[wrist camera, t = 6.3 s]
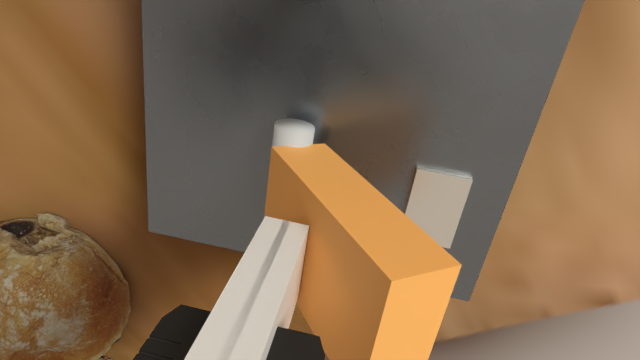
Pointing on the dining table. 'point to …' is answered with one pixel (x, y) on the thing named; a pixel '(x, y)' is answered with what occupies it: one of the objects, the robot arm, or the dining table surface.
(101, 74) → the dining table surface
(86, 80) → the dining table surface
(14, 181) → the dining table surface
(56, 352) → the bread roll
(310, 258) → the orange and white block
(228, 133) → the panel
